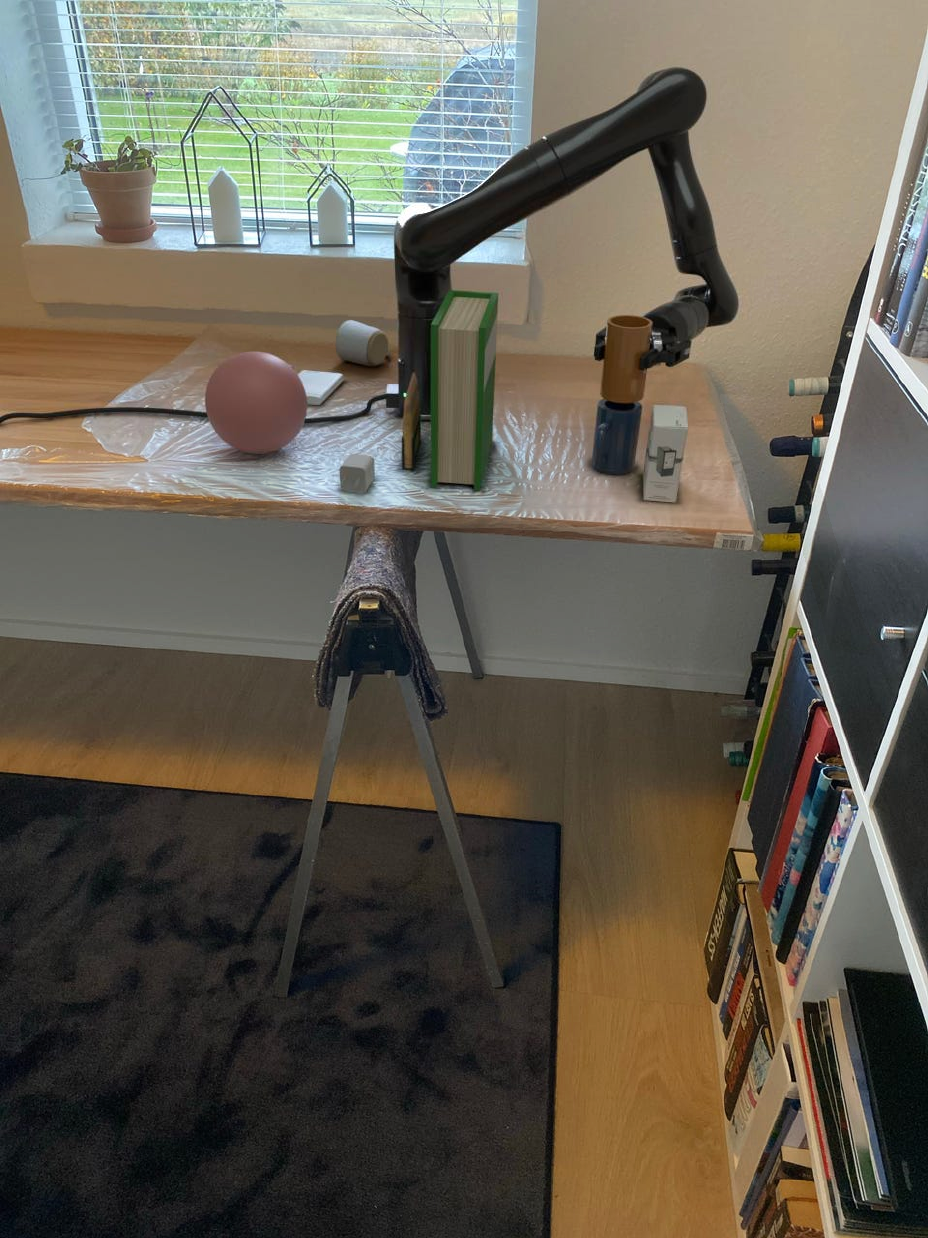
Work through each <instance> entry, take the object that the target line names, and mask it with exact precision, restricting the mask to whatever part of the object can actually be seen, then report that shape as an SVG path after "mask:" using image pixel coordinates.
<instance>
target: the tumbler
mask: <svg viewBox="0 0 928 1238" xmlns="http://www.w3.org/2000/svg"><path fill="white" fill-rule="evenodd" d="M641 316H642V315H641ZM641 316H639V315H634V314H618V315H614V316H610V317H608V318H607V320H606V326H607V328H606V338H605V348H604V359H603V360H602V369H601V379H600V391H599V392H600V393H599V395H600V397H601V398H602V399H606V400H608V401H612V402H617V403H634V402H640V401H642V400H643V399H644V395H645V388H646V382H647V372H648V369H646V370H645V371H642V370H639V362H640V357H641V355H642V354H644V353H645V352H647V351H649V349H650V342H651V334H652V326H653V322H652V321H651V320H649V319H648V318H645V317H641Z"/></svg>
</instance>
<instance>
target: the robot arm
mask: <svg viewBox="0 0 928 1238" xmlns="http://www.w3.org/2000/svg"><path fill="white" fill-rule="evenodd" d="M707 98H708V93H707V87H706V84H705V82H704V80H703V79H702V77H701V76H700V75H699V74H698V73H697V72H695V71H693V70H692V69H689V68H686V67H683V66H682V67H681V66H672V67H667V68H664V69H661V70H656V71H653V72H652V73H651V74H648V75H647V76H646V77H645V78H644V79H643V80H642V82H641V83H640V84H639V86H638V88H637V90H636V92H635V93H633V94H632V95H630V96H629V97H627V98H626V99H624V100H623V101H621V102H619V103H618V104H616V105H615V106H613V107H611V108H609V109H608V110H606V111H605V110H604V111H602V112H601V113H598V114H596V115H592V116H590V117H587V118H584V119H581V120H579V121H576V122H574V123H571V124H569V125H566V126H564V127H562V128H559V129H557V130H555V131H553V132H550V133H548V134H546V135H544V136H543V137H540V138H539V139H538V140H536V141H533V142H532V143H531V144H529V145H527V146H525V147H523V148H522V149H520V150H519V151H517V152H516V153H514V154H513V155H511V156H510V157H509V158H508V159H507V160H505V161H504V162H502V164H500V165H499V166H498V167H497V168H496V169H495V170H494V171H493V172H492V173H490V175H489V176H488V177H487V178H485V180H484V181H482V183H480V184H479V185H477V186H476V187H475V188H474V189H472V190H470V191H469V192H467V193H465V194H464V195H462V196H459V197H457V198H456V199H454V200H452V201H450V202H447V203H445V204H443V205H440V206H438V207H437V206H435V205H433V204H431V203H426V202H417V203H414V204H411V205H409V206H408V207H406V208H405V209H403V211H402V212H401V213H400V214H399V216H398V218H397V219H396V222H395V224H394V225H395V226H394V231H393V232H394V233H393V254H394V255H393V257H394V260H393V261H394V284H395V285H394V287H395V295H396V305H397V308H396V309H397V339H398V341H397V344H398V345H397V347H398V349H397V351H398V353H397V354H398V359H397V380H398V381H397V383H387V384H386V389H385V393H384V394H380V395H375V396H373V397H371V398H370V399H369V400H368V401H367V403H366V407H365V408H364V409H362V410H360V411H359V412H356V413H352V414H347V415H333V416H324V417H323V416H321V417H306V418H305V421H304V424H303V425H305V424H307V425H308V424H319V423H321V424H322V423H330V422H344V421H348V420H352V419H356V418H360V417H363V416H366V415H367V414H369V412H370V411H371V410H372V406H373V404H374V403H376V402H379V401H383V400H385V408H386V409H398V417H404V402H405V397H406V394H407V391H408V387H409V384H410V381H411V378H412V375H413V373H414V372H415V374H416V377H417V382H418V395H419V403H420V414H421V421H431V323H432V322H433V320H434V318H435V316H436V314H437V312H438V310H439V308H440V306H441V304H442V303H443V301H444V299H445V297H446V295H447V293H448V291H449V290H453V285H452V275H451V273H452V272H451V271H452V269H451V265H453V263H455V262H457V261H458V260H459V259H460V258H462V257H463V256H465V255H466V254H468V253H469V252H470V251H472V250H474V249H475V248H476V247H477V246H479V245H480V244H481V243H484V242H485V241H487V240H488V239H489V238H491V237H493V236H494V235H496V234H498V233H500V232H502V231H504V230H506V229H508V228H511V227H513V226H515V225H516V224H519V223H521V222H523V221H524V220H526V219H527V218H530V217H532V216H534V215H536V214H538V213H539V212H542V211H544V210H545V209H547V208H549V207H551V206H553V205H555V204H557V203H558V202H560V201H562V200H564V199H566V198H568V197H570V196H571V195H572V194H575V193H576V192H578V191H579V190H581V189H582V188H585V187H586V186H587V185H589V184H590V183H592V182H594V181H596V180H597V179H598V178H600V177H602V176H603V175H604V174H606V173H607V172H609V171H610V170H612V169H613V168H615V167H616V166H618V165H619V164H620V163H622V162H624V161H625V160H627V159H629V158H630V157H632V156H635V155H636V154H639V153H640V152H643V151H645V150H647V152H648V154H649V157H650V160H651V163H652V167H653V170H654V173H655V176H656V180H657V185H658V187H659V191H660V195H661V199H662V205H663V209H664V214H665V216H666V223H667V227H668V228H667V229H668V233H669V239H670V245H671V250H672V253H673V254H672V255H673V258H674V259H673V260H674V263H675V268H676V270H677V271H678V272H679V273H680V274H683V275H689V276H698V277H700V278H701V279H703V282H705V283H704V284H697V285H693V286H687V287H684V288H682V289H680V290H678V291H677V292H676V294H675V295H674V297H673V299H672V300H671V301H668V302H666V303H663V304H660V305H658V306H656V307H655V308H653V309H652V310H650V311H648V312H646V313H645V314H643V315H641V317H645V318H648V319H649V320H651V321H652V322H653V326H652V334H651V342H650V349H649V351H647V352H645V353H644V354H642V355H641V357H640V362H639V370H642V371H645V370H646V369H647V370H648V369H652V368H653V367H655V366H656V367H658V366H661V365H662V364H665V366H666V367H667V368H673V367H675V366H677V365H678V364H680V363H683V362H684V361H686V360H688V359H689V358H690V355H691V349H692V341H693V340H694V339H696V338H698V337H699V336H700V335H701V334H702V333H703V332H704V331H705V330H706V329H707V328H713V327H719V326H725V325H728V324H730V323H732V322H733V321H734V320H735V319H736V316H737V315H738V311H739V307H740V302H739V301H740V300H739V295H738V291H737V289H736V287H735V285H734V282H733V281H732V279H731V276H730V275H729V273H728V271H727V269H726V266H725V264H724V262H723V260H722V257H721V255H720V252H719V247H718V242H717V237H716V231H715V225H714V220H713V216H712V211H711V209H710V204H709V202H708V199H707V196H706V194H705V191H704V189H703V186H702V184H701V181H700V179H699V175H698V174H697V170H696V168H695V164H694V160H693V156H692V150H691V145H690V134H689V133H690V132H689V131H690V130H691V129H692V128H694V126H696V124H697V123H698V122H699V120H700V119H701V118H702V115H703V114H704V112H705V108H706V105H707ZM606 328H607V325H606V326H605V327H604V328H602V329H601V330H599V331H598V332H597V333H595V342H594V349H593V357H594V361H596V362H597V361H598V362H601V361H603V359H604V348H605V338H606ZM106 413H107V414H109V413H110V414H111V413H141V414H142V413H147V414H164V415H165V414H166V415H177V416H187V417H188V416H189V417H199V418H208V416H207V412H206V411H197V410H187V409H186V410H185V409H177V408H175V409H174V408H163V407H140V406H119V407H118V406H114V407H93V408H92V407H91V408H79V409H70V410H69V409H68V410H61V411H53V412H23V411H22V412H10V413H6V414H3V415H0V425H1V424H2V423H4V422H6V421H8V420H12V419H23V418H24V419H52V418H60V417H71V416H79V415H89V414H106Z"/></svg>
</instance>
